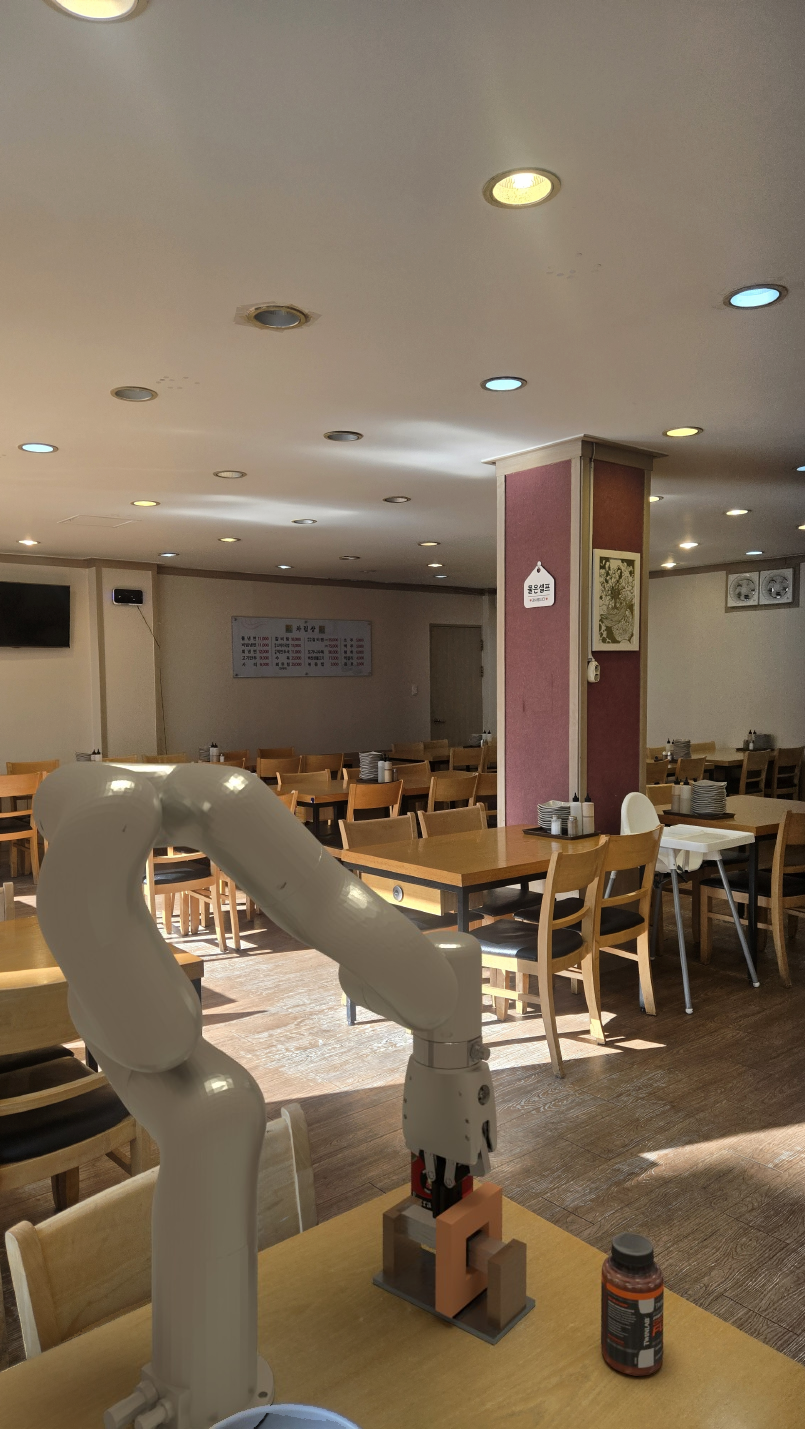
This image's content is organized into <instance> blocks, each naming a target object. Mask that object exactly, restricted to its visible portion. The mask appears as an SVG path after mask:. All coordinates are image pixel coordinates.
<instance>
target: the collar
mask: <svg viewBox="0 0 805 1429" xmlns="http://www.w3.org/2000/svg"><path fill="white" fill-rule="evenodd" d="M478 1229H479V1230H481V1231H483V1234H485V1235H488V1236H490V1237H492V1238H495V1239H497V1240H499V1241H502V1242H503V1186H500V1185H498V1184H496V1183H495V1184H494V1183H493V1182H490V1181H485V1182H484V1183H483V1184H482V1185H480V1186H478V1187H477V1188H475V1189H473V1192H472V1193H470V1194H469V1195H467V1196H466V1197H465V1198H463V1199H462V1200H460V1201H459V1202H457V1203H456V1204H455V1205H453V1206H452V1207H450V1208H449V1209H448V1210H446V1211H445V1212H443V1213H442V1214H441V1215H439V1216H438V1217H436V1250H435V1254H436V1311H438V1312H440V1313H442V1314H444V1315H446V1316H448V1317H450V1318H452V1317H453V1316H454V1315H455V1314H456V1313H458V1312H459V1311H460V1310H461V1309H462V1308H463V1307H464V1306H466V1305H467V1304H468V1303H469V1302H470V1301H471V1300H473V1299H474V1298H475V1297H476V1296H477V1295H478V1294H479V1293H481V1292H482V1291H483V1290H484V1289H485V1288H486V1287H487V1274H486V1273H484V1272H482V1271H480V1270H478V1269H475V1268H473V1267H471V1266H470V1267H466V1238H467V1237H469V1236H470V1235H471V1234H473V1233H474V1232H475V1231H477V1230H478Z"/></svg>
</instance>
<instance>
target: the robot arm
mask: <svg viewBox="0 0 805 1429" xmlns="http://www.w3.org/2000/svg"><path fill="white" fill-rule="evenodd" d="M32 800H33V801H32V807H31V808H32V816H33V818H32V819H33V820H34V825H35V827H36V828H37V831H38V832H39V834H40V835H41V836H42V838H43V839H44V840H45V841H46V842H47V843H49V844H48V845H47V848H46V851H45V853H44V855H43V858H42V861H41V866H40V869H39V873H38V878H37V885H36V894H35V908H36V909H35V910H36V918H37V922H38V926H39V928H40V932H41V934H42V937H43V939H44V941H45V943H46V945H47V947H48V950H49V952H50V953H51V955H52V956H53V959H54V960H55V962H56V964H57V965H58V968H59V969H60V971H61V972H62V974H63V976H64V978H65V980H66V982H67V984H68V988H67V994H66V996H67V998H66V1000H67V1001H66V1002H67V1010H68V1013H69V1017H70V1020H71V1021H72V1024H73V1026H74V1028H75V1030H76V1032H77V1033H78V1035H79V1036H80V1038H81V1040H82V1041H83V1043H84V1044H85V1046H86V1047H87V1049H88V1051H89V1053H90V1054H91V1056H92V1057H93V1059H94V1060H95V1062H96V1063H97V1065H98V1067H99V1069H100V1070H101V1071H102V1073H103V1074H104V1076H105V1078H106V1079H107V1081H108V1082H109V1084H110V1085H111V1087H112V1089H113V1090H114V1092H115V1093H116V1095H117V1096H118V1098H119V1099H120V1101H121V1102H122V1104H123V1105H124V1107H125V1108H126V1110H127V1111H128V1112H129V1114H131V1116H132V1117H133V1118H134V1119H135V1121H137V1122H138V1123H139V1124H140V1125H141V1127H142V1128H144V1129H145V1130H146V1132H147V1134H148V1135H149V1136H150V1137H151V1139H153V1140H154V1142H155V1143H156V1144H157V1147H158V1151H159V1168H158V1172H157V1179H156V1182H155V1184H154V1190H153V1195H152V1204H151V1220H150V1221H151V1224H150V1227H151V1232H150V1233H151V1235H150V1236H151V1360H150V1361H149V1362H148V1363H146V1364H144V1365H143V1366H142V1367H141V1370H140V1372H141V1373H140V1374H141V1376H140V1377H141V1378H140V1381H139V1383H138V1384H137V1385H135V1387H134V1388H133V1390H132V1394H130V1395H129V1396H127V1397H126V1398H122V1399H121V1400H120V1401H118V1402H116V1403H115V1404H113V1405H112V1406H110V1407H109V1408H108V1409H106V1410H105V1411H104V1412H103V1415H102V1418H103V1419H102V1420H103V1426H104V1428H105V1429H124V1428H126V1427H127V1426H129V1425H130V1424H131V1423H132V1422H133V1421H134V1425H133V1426H134V1429H209V1428H210V1427H212V1426H213V1425H214V1424H216V1423H218V1422H220V1421H222V1420H224V1419H226V1418H228V1417H230V1416H232V1415H234V1414H236V1413H238V1412H241V1411H245V1410H247V1409H251V1408H255V1407H259V1406H265V1405H268V1404H272V1405H273V1402H274V1401H273V1400H274V1399H275V1398H274V1397H275V1375H274V1372H273V1369H272V1368H271V1366H270V1364H269V1363H268V1361H267V1360H266V1358H264V1357H263V1356H262V1355H261V1354H260V1353H258V1306H259V1305H258V1303H259V1302H258V1298H259V1297H258V1294H259V1293H258V1283H259V1282H258V1276H259V1275H258V1272H259V1271H258V1270H259V1267H258V1265H259V1264H258V1263H259V1260H258V1258H259V1257H258V1256H259V1255H258V1254H259V1251H258V1250H259V1249H258V1248H259V1247H258V1245H259V1244H258V1239H259V1236H258V1233H259V1232H258V1231H259V1225H258V1210H259V1209H258V1207H259V1206H258V1205H259V1204H258V1202H259V1201H258V1200H259V1199H258V1198H259V1196H258V1195H259V1181H260V1180H259V1178H260V1167H261V1160H262V1156H263V1150H264V1142H265V1140H266V1139H265V1138H266V1134H267V1125H268V1122H267V1121H268V1110H267V1104H266V1100H265V1096H264V1094H263V1091H262V1089H261V1087H260V1085H259V1084H258V1082H257V1080H256V1079H255V1076H253V1075H252V1074H251V1072H250V1071H248V1069H246V1068H245V1066H243V1065H242V1064H241V1063H240V1062H238V1061H237V1060H236V1059H234V1058H233V1057H231V1056H230V1055H228V1054H227V1053H226V1052H225V1051H223V1050H221V1049H220V1048H218V1047H217V1046H215V1045H214V1044H212V1043H211V1042H209V1041H208V1040H207V1039H206V1038H204V1037H203V1035H202V1032H203V1026H204V1014H203V1007H202V1004H201V1001H200V997H199V994H198V993H197V992H198V991H196V988H195V986H194V984H193V982H192V981H191V980H190V978H189V976H188V975H187V974H186V972H185V970H184V969H183V968H182V966H181V965H180V963H179V961H178V959H177V958H176V956H175V955H174V953H173V951H172V949H171V947H170V946H169V944H168V943H167V942H166V940H165V938H164V936H163V935H162V932H161V931H160V929H159V928H158V925H157V923H156V920H154V917H153V915H152V914H151V913H152V912H151V911H150V908H149V906H148V905H147V901H146V899H145V897H144V891H143V878H144V873H145V868H146V865H147V862H148V861H149V857H150V855H151V853H152V851H153V849H158V848H173V847H187V848H191V849H194V850H197V851H200V852H201V853H202V854H203V855H205V856H206V857H207V858H208V859H209V860H210V861H211V862H212V863H213V864H214V865H215V866H216V867H217V868H218V869H219V870H220V871H221V872H222V873H223V874H224V875H225V876H226V877H227V878H229V879H230V881H232V882H233V883H234V884H235V885H236V886H237V887H238V888H239V889H240V890H241V891H242V892H243V893H244V894H245V895H246V896H247V897H248V898H249V899H250V900H251V901H252V902H253V903H254V905H256V907H258V908H259V910H261V912H263V913H264V914H265V916H267V917H268V918H269V920H271V921H272V922H273V923H274V924H275V925H276V926H277V927H279V929H280V928H281V929H282V930H283V931H284V932H286V934H288V935H290V937H292V938H294V939H296V940H297V941H299V942H301V943H302V944H303V945H305V946H308V947H309V948H311V949H314V950H315V951H318V952H319V953H320V954H323V955H324V956H326V957H328V958H329V959H331V960H332V961H334V962H336V963H337V964H338V965H339V966H338V974H337V975H338V981H339V985H340V988H341V989H342V991H343V993H344V994H345V995H346V996H347V998H349V1000H351V1001H352V1002H353V1003H354V1004H356V1005H357V1006H359V1007H360V1008H363V1009H365V1010H367V1011H370V1012H371V1013H372V1014H373V1013H374V1014H376V1015H377V1016H381V1017H383V1018H385V1019H387V1020H389V1021H391V1022H393V1023H395V1024H397V1025H399V1026H401V1027H403V1028H405V1029H407V1030H409V1031H412V1053H411V1054H410V1055H409V1058H408V1060H407V1065H406V1071H405V1074H404V1076H405V1077H404V1084H403V1093H402V1106H401V1107H402V1108H401V1111H402V1112H401V1126H402V1127H401V1128H402V1135H403V1138H404V1140H405V1142H404V1144H405V1147H406V1149H407V1150H409V1151H410V1152H411V1151H412V1152H413V1153H414V1154H416V1155H417V1156H419V1157H420V1159H421V1161H422V1162H423V1164H424V1165H425V1167H426V1173H427V1177H428V1179H429V1180H431V1181H432V1216H433V1218H434V1219H436V1217H438V1216H439V1215H441V1214H442V1213H443V1212H445V1211H446V1210H448V1209H449V1208H450V1207H452V1206H453V1205H455V1204H456V1203H457V1202H459V1201H460V1200H462V1180H463V1179H465V1178H466V1177H467V1176H468V1175H471V1176H473V1177H479V1178H480V1177H481V1178H484V1177H485V1176H487V1175H488V1174H489V1173H491V1171H492V1165H491V1164H492V1163H491V1160H490V1155H489V1154H490V1153H491V1154H492V1153H493V1152H495V1151H496V1150H497V1146H498V1122H497V1119H498V1118H497V1108H496V1097H495V1090H494V1083H493V1079H492V1078H493V1077H492V1073H491V1069H490V1066H489V1063H488V1062H487V1061H489V1059H490V1057H491V1049H490V1048H489V1047H486V1046H484V1045H483V1043H484V1042H483V1040H484V1039H483V1037H484V1036H483V951H482V949H483V948H482V945H481V942H480V941H479V940H478V938H477V937H475V936H474V935H473V934H471V933H467V932H463V931H459V930H436V931H435V930H434V931H429V932H427V933H424V932H423V931H421V929H420V928H419V927H418V926H417V925H416V924H415V923H413V921H411V920H410V918H408V917H407V916H406V915H405V914H403V913H402V912H401V911H400V910H399V909H398V908H396V907H395V906H394V905H393V904H391V903H390V902H389V901H387V900H386V899H385V898H384V897H383V896H381V895H380V894H379V893H377V892H376V891H375V890H373V888H371V887H370V886H369V885H368V884H366V883H365V882H364V881H363V880H362V879H361V878H359V877H358V876H357V875H356V874H354V873H353V872H352V871H350V869H348V868H347V867H345V866H344V865H342V863H341V862H340V861H338V859H336V857H335V856H334V855H333V854H331V853H330V852H329V850H328V849H327V848H326V847H325V846H324V845H323V844H322V843H321V842H320V841H319V839H318V838H316V837H315V835H314V834H313V833H312V832H311V831H310V830H309V829H308V828H307V827H306V826H305V824H303V822H302V821H301V820H300V819H299V818H298V817H297V816H296V815H295V814H294V813H293V812H292V810H291V809H290V808H289V807H288V806H287V805H286V804H285V803H284V802H283V800H281V799H280V797H279V796H278V795H277V794H276V793H275V792H274V791H273V790H272V789H271V788H270V787H269V786H268V785H267V784H266V783H265V782H264V781H263V780H262V779H261V778H260V777H258V776H257V775H255V774H254V773H252V772H251V771H249V770H247V769H245V768H241V767H238V766H233V765H232V766H231V765H224V764H223V765H222V764H215V763H207V762H205V763H204V762H179V763H176V762H174V763H173V762H171V763H169V762H168V763H167V762H166V763H160V762H159V763H157V762H156V763H155V762H154V763H150V762H147V763H146V762H123V761H122V762H121V761H120V762H119V761H118V762H115V761H87V760H86V761H83V760H82V761H81V760H80V761H73V762H70V763H66V764H63V765H60V766H59V767H57V768H55V769H54V770H52V771H51V772H49V773H48V774H47V775H46V776H45V777H44V778H43V780H41V783H40V784H39V785H38V787H37V788H36V790H35V793H34V796H33V799H32Z"/></svg>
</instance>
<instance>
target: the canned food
mask: <svg viewBox="0 0 805 1429" xmlns="http://www.w3.org/2000/svg"><path fill="white" fill-rule="evenodd" d="M473 1191H474V1176H471V1175H468V1176H467V1177H466V1178H465V1179H463V1180H462V1199H463V1198H465V1197H466V1196H467V1195H469V1194H470V1193H472V1192H473ZM410 1195H411V1196H414V1197H416V1198H419V1199H421V1207H422V1208H424V1209H427V1210H429V1211H431V1212H432V1181H431V1180H429V1179H428V1177H427V1173H426V1167H425V1165H424V1164H423V1162H422V1161H421V1159H420V1157H419V1156H417V1155H416V1154H414V1153H413V1152H412V1151H410Z"/></svg>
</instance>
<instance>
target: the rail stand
mask: <svg viewBox="0 0 805 1429" xmlns="http://www.w3.org/2000/svg"><path fill="white" fill-rule="evenodd" d="M422 1245H423V1246H425V1247H428V1248H430V1249H432V1250H433V1251H436V1219H434V1218H433V1216H432V1212H431V1211H429V1210H427V1209H424V1208H422V1207H421V1199H419V1198H416V1197H414V1196H411V1194H410V1195H408V1196H407V1197H405V1198H404V1199H402V1200H401V1201H399V1202H397V1203H396V1204H394V1205H393V1206H392V1207H390V1208H389V1209H387V1210H385V1211H384V1212H383V1213H382V1270H380V1271H379V1272H378V1273H377V1274H376V1275H373V1277H371V1278H372V1284H374V1285H376V1286H377V1287H380V1288H381V1289H383V1290H385V1291H387V1292H389V1293H391V1294H393V1295H395V1296H397V1297H399V1298H401V1299H403V1300H405V1301H406V1302H408V1303H410V1304H412V1305H415V1306H417V1307H419V1308H420V1309H422V1310H424V1311H426V1312H429V1313H430V1314H432V1315H434V1316H436V1317H437V1318H440V1319H442V1320H444V1321H446V1322H448V1323H449V1324H451V1325H453V1326H456V1327H458V1328H459V1329H461V1330H463V1331H465V1332H467V1333H469V1334H471V1335H472V1336H475V1337H477V1338H479V1339H481V1340H483V1341H485V1342H487V1343H489V1344H491V1345H493V1346H495V1345H496V1344H497V1343H499V1341H500V1340H502V1338H503V1337H505V1335H507V1334H508V1332H510V1330H511V1329H512V1328H513V1327H515V1326H516V1325H517V1324H518V1323H519V1322H520V1321H521V1320H522V1319H523V1318H524V1317H525V1316H527V1314H529V1312H531V1310H533V1308H534V1307H536V1299H534V1298H532V1297H530V1296H528V1295H527V1243H526V1242H524V1241H522V1240H519V1239H516V1238H512V1239H511V1240H509V1242H507V1243H506V1242H504V1241H503V1240H502V1241H499V1240H497V1239H495V1238H492V1237H490V1236H488V1235H485V1234H483V1231H481V1230H479V1229H478V1230H477V1231H475V1232H474V1233H473V1234H471V1235H470V1236H469V1237H467V1238H466V1267H470V1266H471V1267H473V1268H475V1269H478V1270H480V1271H482V1272H484V1273H486V1274H487V1287H486V1288H485V1289H484V1290H483V1291H482V1292H481V1293H479V1294H478V1295H477V1296H476V1297H475V1298H474V1299H473V1300H471V1301H470V1302H469V1303H468V1304H467V1305H466V1306H464V1307H463V1308H462V1309H461V1310H460V1311H459V1312H458V1313H456V1314H455V1315H454V1316H453V1317H452V1318H450V1317H448V1316H446V1315H444V1314H442V1313H440V1312H438V1311H436V1253H434V1252H432V1251H430V1250H427V1249H425V1248H423V1247H422Z"/></svg>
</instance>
